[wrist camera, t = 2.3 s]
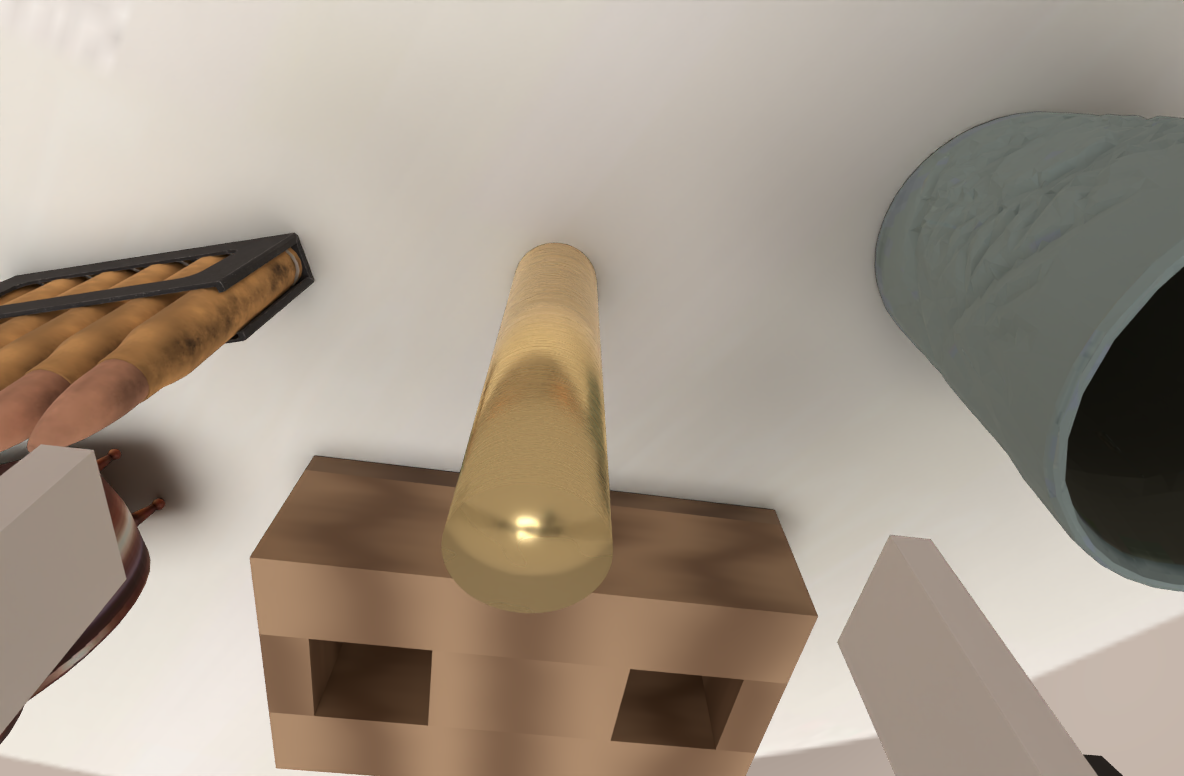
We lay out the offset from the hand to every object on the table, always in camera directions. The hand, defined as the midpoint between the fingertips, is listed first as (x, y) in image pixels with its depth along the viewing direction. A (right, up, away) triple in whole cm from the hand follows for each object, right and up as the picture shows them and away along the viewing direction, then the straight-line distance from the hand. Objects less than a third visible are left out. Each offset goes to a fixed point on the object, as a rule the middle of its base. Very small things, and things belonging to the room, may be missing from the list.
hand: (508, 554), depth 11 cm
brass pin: (0, +7, +13) cm, 14 cm away
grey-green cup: (+16, +8, +12) cm, 21 cm away
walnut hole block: (-1, -6, +20) cm, 21 cm away
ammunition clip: (-14, +7, +12) cm, 20 cm away
